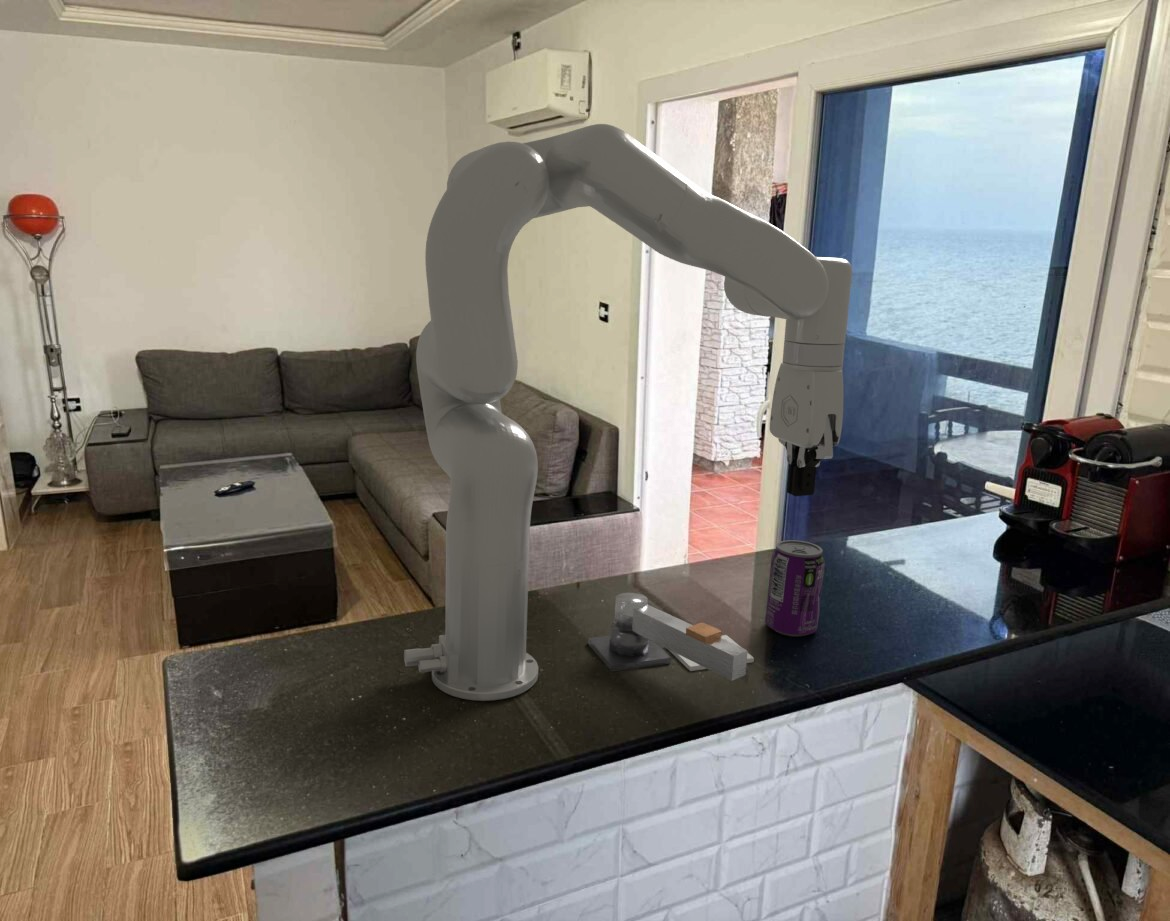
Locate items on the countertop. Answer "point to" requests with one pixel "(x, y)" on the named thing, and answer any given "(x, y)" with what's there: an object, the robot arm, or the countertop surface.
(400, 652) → the countertop surface
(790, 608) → the beverage can
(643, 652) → the pivot pedestal
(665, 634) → the grey long bar
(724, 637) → the label plate
